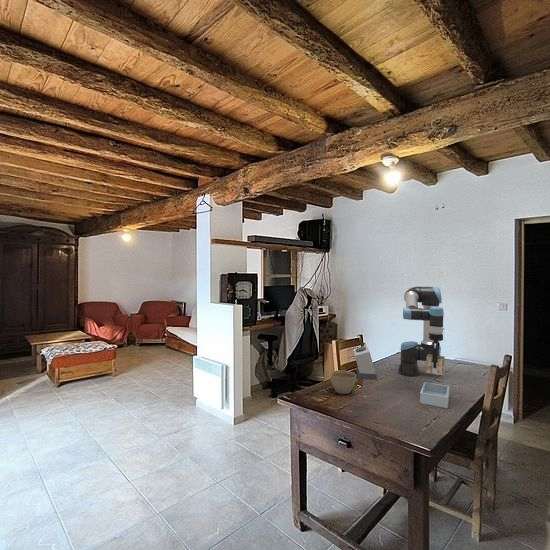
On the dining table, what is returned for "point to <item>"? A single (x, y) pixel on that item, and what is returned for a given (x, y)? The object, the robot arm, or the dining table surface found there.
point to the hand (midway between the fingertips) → (435, 371)
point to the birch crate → (440, 364)
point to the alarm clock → (364, 364)
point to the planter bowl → (343, 381)
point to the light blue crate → (434, 394)
